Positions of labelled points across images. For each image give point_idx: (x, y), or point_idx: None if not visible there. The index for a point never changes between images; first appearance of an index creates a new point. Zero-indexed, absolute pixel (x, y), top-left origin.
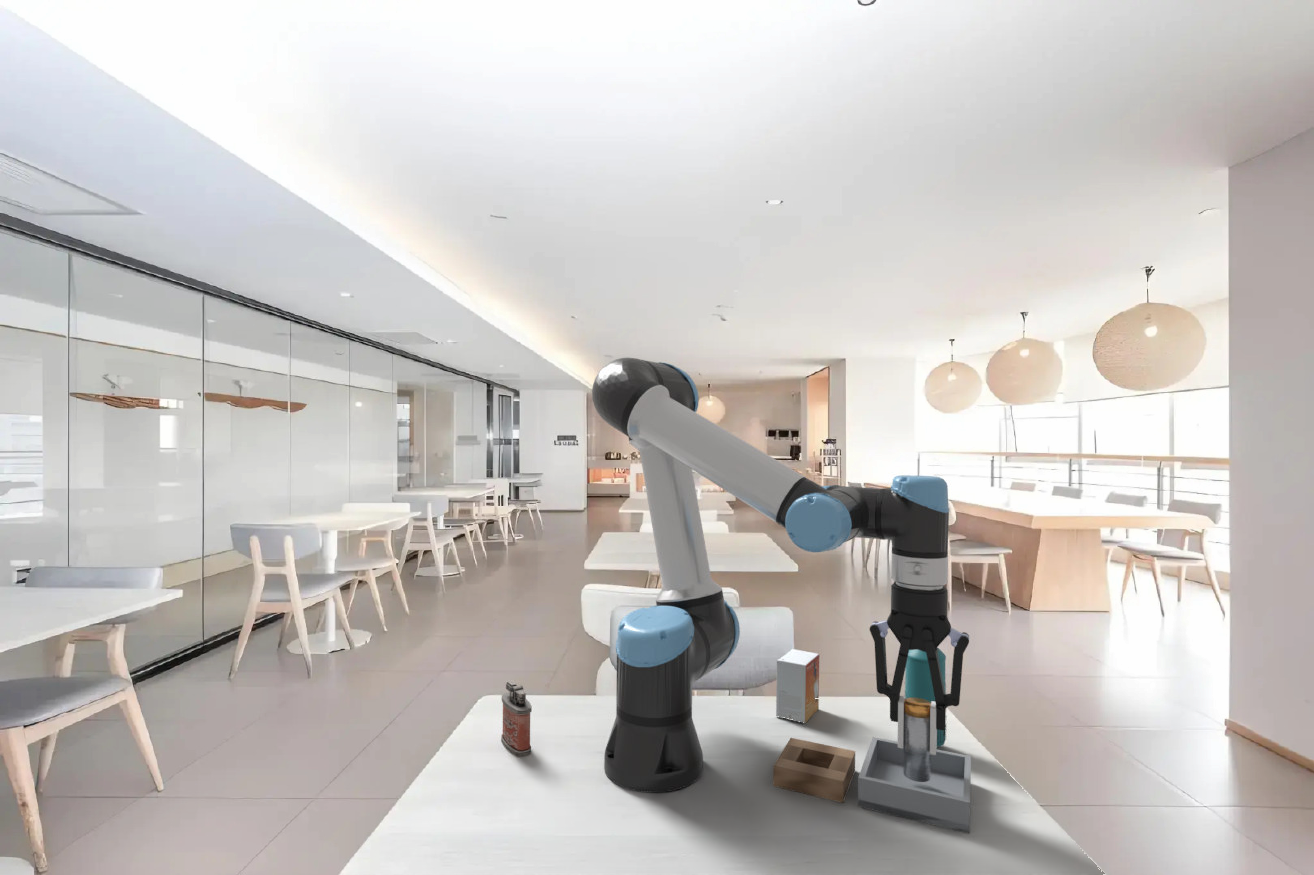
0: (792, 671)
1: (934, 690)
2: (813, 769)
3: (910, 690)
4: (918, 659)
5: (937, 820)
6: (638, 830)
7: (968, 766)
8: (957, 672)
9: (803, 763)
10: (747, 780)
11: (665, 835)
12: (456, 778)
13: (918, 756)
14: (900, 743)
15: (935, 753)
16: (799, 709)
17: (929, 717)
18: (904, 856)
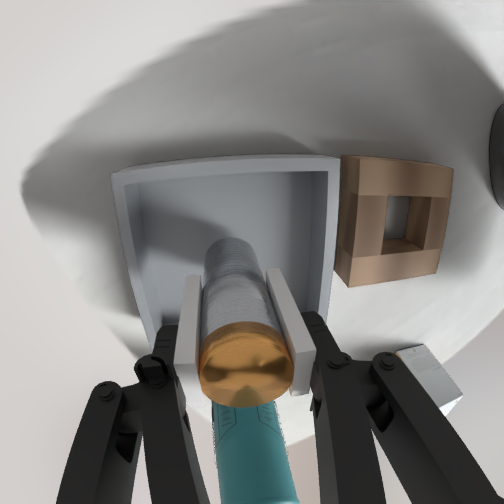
0: (443, 393)
1: (177, 425)
2: (408, 181)
3: (275, 445)
4: (272, 501)
5: (178, 160)
6: (486, 37)
7: (144, 318)
8: (72, 496)
9: (422, 195)
10: (456, 165)
11: (471, 30)
12: None
13: (226, 260)
14: (274, 274)
15: (186, 277)
16: (410, 360)
17: (201, 344)
18: (221, 43)
